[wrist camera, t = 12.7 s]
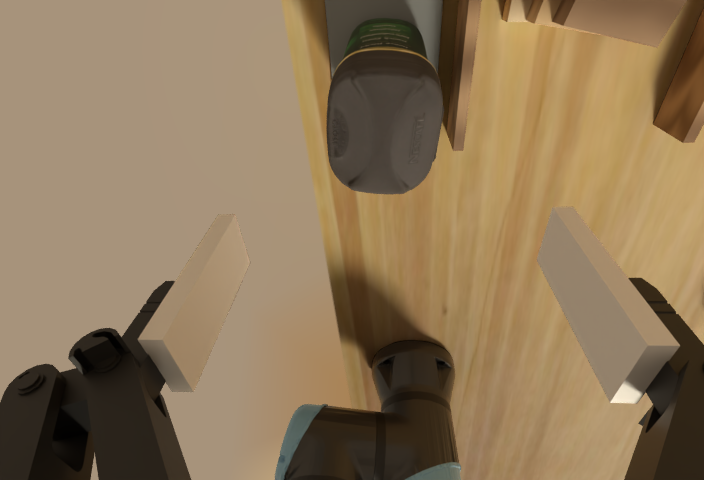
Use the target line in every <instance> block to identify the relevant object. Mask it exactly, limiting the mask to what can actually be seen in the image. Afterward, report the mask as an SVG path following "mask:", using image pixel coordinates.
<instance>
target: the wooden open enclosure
mask: <svg viewBox="0 0 704 480" xmlns="http://www.w3.org/2000/svg"><path fill="white" fill-rule="evenodd" d="M480 8H481V0H459V1H458V12H457V23H456V35H455V46H454V57H453V68H452V79H451V90H450V101H449V112H448V123H447V135H448V138H449V141H450V143H451V146H452V149H453V151H463V148H464V140H465V131H466V123H467V115H468V107H469V98H470V90H471V82H472V74H473V66H474V57H475V49H476V41H477V33H478V24H479V16H480ZM703 124H704V8H703V11H702V13H701V15H700V18H699V20H698V22H697V25H696V27H695V29H694V31H693V34H692V36H691V38H690V41H689V43H688V45H687V48H686V50H685V52H684V55H683V57H682V59H681V62H680V64H679V66H678V68H677V71H676V73H675V75H674V78H673V80H672V82H671V85H670V87H669V89H668V92H667V94H666V96H665V99H664V101H663V103H662V105H661V108H660V110H659V112H658V115H657V117H656V119H655V122H654V124H653V125H655V126H657V127H658V128H660V129H661V130H663V131H665V132H666V133H668V134H670V135H671V136H673V137H675V138H676V139H678V140H679V141H681V142H683V143H690V142H695V140H696V138H697V136H698V134H699V132H700V130H701V128H702V126H703Z"/></svg>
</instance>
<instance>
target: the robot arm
mask: <svg viewBox="0 0 704 480" xmlns="http://www.w3.org/2000/svg"><path fill="white" fill-rule="evenodd" d="M537 261H538V263H539V265H540V267H541V269H542V271H543V273H544V275H545V277H546V279H547V281H548V283H549V285H550V287H551V289H552V291H553V293H554V295H555V297H556V298H557V300H558V302H559V304H560V306H561V308H562V310H563V312H564V314H565V316H566V318H567V320H568V322H569V324H570V326H571V328H572V330H573V332H574V333H575V335H576V337H577V339H578V341H579V343H580V345H581V347H582V349H583V351H584V353H585V355H586V357H587V359H588V361H589V363H590V365H591V367H592V369H593V370H594V372H595V374H596V376H597V378H598V380H599V382H600V384H601V386H602V388H603V390H604V392H605V394H606V396H607V398H608V400H609V402H610V403H638V402H639V400H640V399H641V398H642V396H643V395H644V394H645V392H646V393H647V395H648V396H649V398H650V400H651V401H652V403H653V405H652V407H651V408H650V409H649V410H648V412H647V413H646V414H645V415H644V417H643V418H642V419H641V421H640V422H639V423H638V424H640V425H642V426H643V428H642V431H641V434H640V436H639V439H638V442H637V445H636V448H635V451H634V453H633V456H632V459H631V462H630V465H629V468H628V470H627V473H626V476H625V479H624V480H704V345H703V343H702V342H701V341H700V340H699V339H698V337H697V336H696V335H695V334H694V333H693V331H692V330H691V329H690V328H689V327H688V325H687V324H686V323H685V322H684V321H683V319H682V318H681V317H680V316H679V315H678V314H676V311H675V310H674V309H673V308H672V306H671V305H670V304H668V303H667V300H666V299H665V298H664V297H663V296H662V294H661V293H660V292H659V291H658V290H657V289H656V288H655V287H654V286H652V285H651V284H649V283H648V282H646V281H645V280H643V279H642V278H628V277H627V276H626V275H625V273H624V272H623V271H622V270H621V268H620V267H619V266H618V264H617V263H616V262H615V261H614V259H613V258H612V257H611V255H610V254H609V253H608V251H607V250H606V249H605V248H604V246H603V245H602V244H601V242H600V241H599V240H598V239H597V237H596V236H595V235H594V233H593V232H592V231H591V229H590V228H589V227H588V226H587V224H586V223H585V222H584V220H583V219H582V218H581V216H580V215H579V214H578V213H577V211H576V210H575V209H574V207H553V208H552V211H551V214H550V218H549V221H548V224H547V228H546V231H545V234H544V237H543V241H542V244H541V247H540V251H539V254H538V257H537ZM249 264H250V260H249V257H248V253H247V250H246V247H245V244H244V241H243V238H242V234H241V231H240V228H239V225H238V221H237V218H236V215H235V214H229V215H228V214H227V215H218V216H217V218H216V219H215V221H214V222H213V224H212V226H211V227H210V228H209V230H208V232H207V233H206V235H205V236H204V238H203V239H202V241H201V242H200V244H199V245H198V247H197V249H196V250H195V252H194V253H193V255H192V256H191V258H190V259H189V261H188V262H187V264H186V266H185V267H184V269H183V270H182V272H181V273H180V275H179V276H178V278H177V279H176V281H165V282H164V283H163V284H162V285H161V286H159V287H158V288H157V289H156V290H154V292H153V293H152V294H151V296H150V297H149V299H148V300H147V303H146V304H145V305H144V306H143V307H142V309H141V310H140V313H138V315H137V316H136V318H135V319H134V320H133V322H132V323H131V325H130V326H129V328H128V329H127V330H126V332H125V333H124V335H123V336H122V338H121V336H120V335H119V333H118V332H117V331H116V330H115V329H111V328H103V329H99V330H96V331H93V332H91V333H89V334H87V335H86V336H84V337H82V338H81V339H80V340H79V341H78V342H77V343H75V345H74V346H73V347H72V349H71V351H70V353H69V360H70V361H71V362H72V363H73V364H74V365H75V366H76V369H72V370H68V371H64V372H61V373H60V372H59V371H58V370H57V369H56V368H55V367H54V366H53V365H50V364H43V365H38V366H35V367H33V368H30V369H28V370H26V371H25V372H23V373H22V374H20V375H19V376H17V377H16V378H15V379H14V380H13V381H12V382H11V383H10V384H9V385H8V387H7V389H6V390H5V392H4V395H3V397H2V400H1V402H0V480H90V478H91V471H92V465H93V458H94V452H95V457H96V464H97V470H98V477H99V480H191V478H190V475H189V472H188V469H187V466H186V463H185V460H184V457H183V455H182V451H181V448H180V445H179V442H178V440H177V437H176V434H175V431H174V428H173V425H172V422H171V419H170V416H169V413H168V410H167V407H166V404H165V401H164V398H163V396H162V395H161V393H160V391H161V389H162V387H163V385H164V384H165V382H166V383H167V385H168V386H169V388H170V390H171V391H172V392H194V390H195V388H196V385H197V383H198V381H199V378H200V376H201V374H202V371H203V369H204V367H205V365H206V363H207V360H208V358H209V356H210V353H211V351H212V349H213V347H214V344H215V342H216V340H217V338H218V335H219V333H220V331H221V328H222V326H223V324H224V321H225V319H226V317H227V315H228V312H229V310H230V308H231V306H232V303H233V301H234V299H235V296H236V294H237V292H238V290H239V287H240V285H241V283H242V281H243V278H244V276H245V274H246V271H247V269H248V267H249ZM372 377H373V381H374V384H375V387H376V390H377V393H378V396H379V399H380V402H381V412H374V411H367V410H358V409H350V408H342V407H334V406H328V405H327V404H323V405H311V404H305V405H302V406H300V407H299V408H298V409H297V410H296V411H295V413H294V414H293V416H292V418H291V420H290V423H289V425H288V428H287V431H286V434H285V437H284V440H283V444H282V447H281V451H280V457H279V460H278V464H277V467H276V473H275V480H461V478H460V471H461V466H460V464H459V460H458V453H457V447H456V441H455V434H454V428H453V422H452V415H451V409H450V400H451V395H452V390H453V384H454V379H455V369H454V363H453V359H452V357H451V355H450V354H449V353H448V352H447V351H446V350H444V349H443V348H441V347H439V346H437V345H435V344H432V343H428V342H423V341H402V342H397V343H394V344H391V345H388V346H386V347H384V348H383V349H381V350H380V351H379V352H378V353H377V354H376V355H375V357H374V358H373V362H372Z"/></svg>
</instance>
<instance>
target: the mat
mask: <svg viewBox="0 0 704 480" xmlns="http://www.w3.org/2000/svg"><path fill="white" fill-rule="evenodd" d="M442 6H443V0H325V8H326V19H327V29H328V40H329V51H330V61H331V72H332V78H333V74H334V72H335V70H336V68H337V66H338V65H339V64H340V62H341V61H342V60H343V57H344V54H345V50H346V47H347V44H348V41H349V39H350V36H351V34H352V32H353V31H354V29H355V28H356V27H357V26H358V25H359V24H361V23H362V22H364V21H366V20H370V19H375V18H391V19H400V20H404V21H408V22H410V23H411V24H413V25H415V26H416V27H417V29H418V30H419V31H420V33H421V35H422V38H423V41H424V45H425V48H426V54H427V58H428V61H429V62H430V63H431V64H432V65H433V66H434V68H435V70H436V72H437V74H438V64H439V50H440V35H441V20H442Z"/></svg>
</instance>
